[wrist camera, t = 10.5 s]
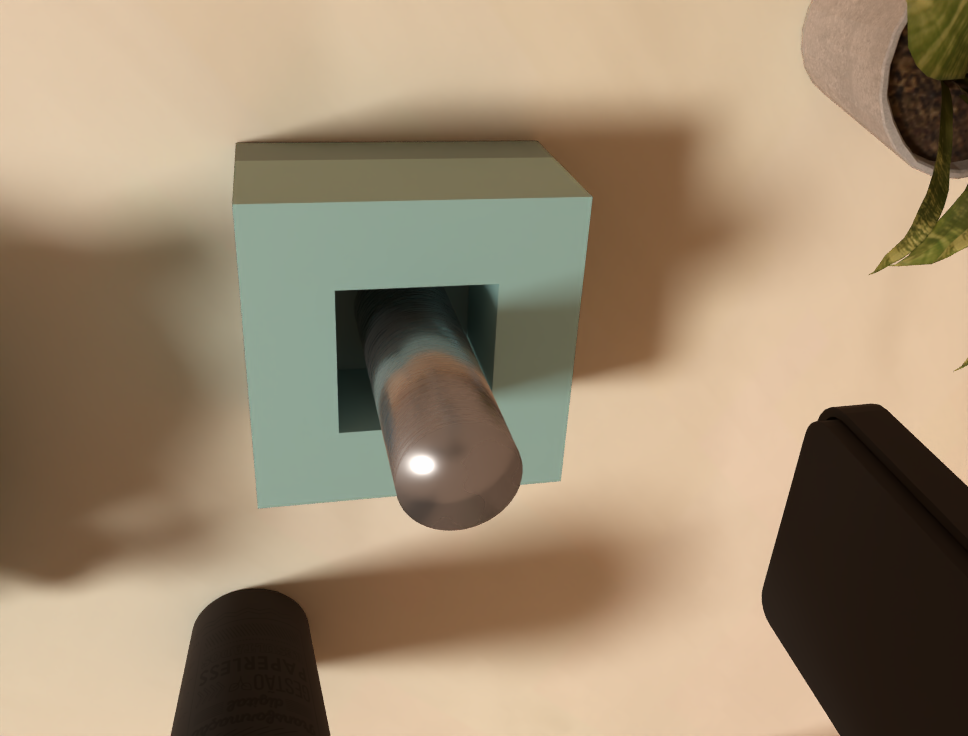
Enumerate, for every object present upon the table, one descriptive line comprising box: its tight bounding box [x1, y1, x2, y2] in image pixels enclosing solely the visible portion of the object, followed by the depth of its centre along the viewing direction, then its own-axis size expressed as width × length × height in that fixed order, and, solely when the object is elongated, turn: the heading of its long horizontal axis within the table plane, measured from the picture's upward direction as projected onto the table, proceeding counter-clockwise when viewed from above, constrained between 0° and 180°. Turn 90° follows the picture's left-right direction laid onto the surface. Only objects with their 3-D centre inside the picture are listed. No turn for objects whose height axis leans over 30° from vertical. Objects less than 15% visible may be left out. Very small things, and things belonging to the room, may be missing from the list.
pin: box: [354, 286, 523, 531], centre depth 27 cm, size 3×3×10 cm
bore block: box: [232, 141, 593, 508], centre depth 30 cm, size 10×10×6 cm
